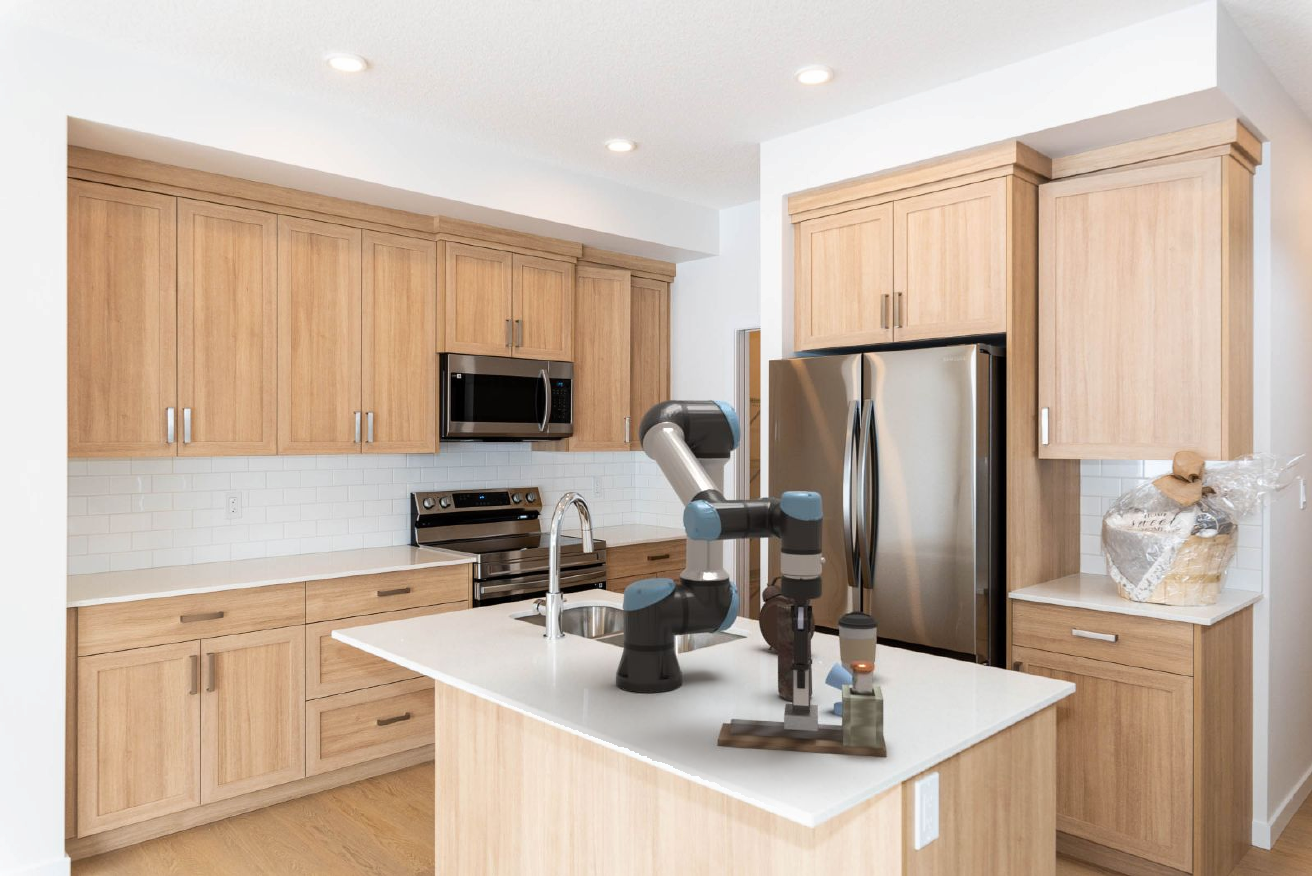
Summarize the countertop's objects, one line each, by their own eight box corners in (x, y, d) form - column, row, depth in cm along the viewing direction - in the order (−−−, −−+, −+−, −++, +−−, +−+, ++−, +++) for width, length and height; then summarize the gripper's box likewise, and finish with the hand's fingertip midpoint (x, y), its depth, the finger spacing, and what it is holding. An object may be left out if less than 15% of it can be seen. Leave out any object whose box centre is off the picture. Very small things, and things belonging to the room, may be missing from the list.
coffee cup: (878, 685, 199) (878, 619, 199) (837, 682, 201) (837, 617, 201) (876, 674, 208) (876, 611, 208) (837, 672, 210) (837, 609, 209)
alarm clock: (818, 656, 224) (818, 578, 224) (801, 661, 219) (801, 581, 219) (773, 646, 235) (773, 571, 235) (756, 651, 230) (756, 574, 230)
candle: (770, 694, 192) (770, 602, 192) (799, 690, 195) (799, 600, 195) (789, 704, 185) (789, 609, 185) (818, 699, 188) (819, 606, 188)
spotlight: (822, 713, 179) (855, 718, 176) (822, 664, 179) (855, 669, 175) (830, 706, 183) (863, 712, 180) (830, 659, 183) (863, 663, 180)
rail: (717, 745, 161) (717, 691, 160) (723, 729, 169) (723, 677, 169) (886, 756, 155) (886, 700, 155) (882, 739, 164) (883, 685, 164)
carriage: (784, 728, 159) (784, 665, 159) (785, 716, 166) (785, 656, 166) (817, 731, 158) (817, 667, 158) (817, 718, 165) (817, 657, 165)
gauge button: (850, 709, 158) (850, 666, 158) (849, 702, 163) (849, 660, 163) (875, 711, 158) (875, 667, 157) (873, 703, 162) (873, 661, 162)
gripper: (822, 583, 154) (821, 717, 154) (822, 569, 169) (822, 691, 169) (778, 581, 155) (778, 714, 155) (782, 568, 170) (782, 688, 170)
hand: (801, 702), depth 162 cm, fingers closed on carriage, 2 cm apart
